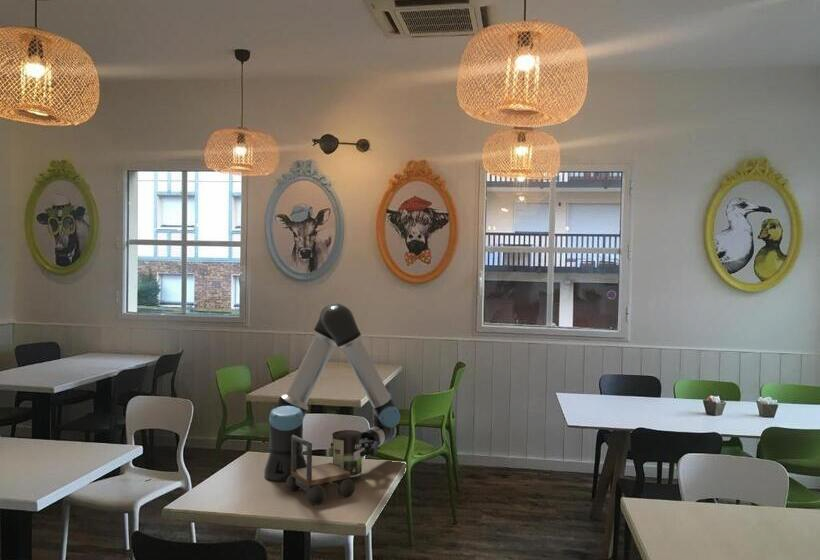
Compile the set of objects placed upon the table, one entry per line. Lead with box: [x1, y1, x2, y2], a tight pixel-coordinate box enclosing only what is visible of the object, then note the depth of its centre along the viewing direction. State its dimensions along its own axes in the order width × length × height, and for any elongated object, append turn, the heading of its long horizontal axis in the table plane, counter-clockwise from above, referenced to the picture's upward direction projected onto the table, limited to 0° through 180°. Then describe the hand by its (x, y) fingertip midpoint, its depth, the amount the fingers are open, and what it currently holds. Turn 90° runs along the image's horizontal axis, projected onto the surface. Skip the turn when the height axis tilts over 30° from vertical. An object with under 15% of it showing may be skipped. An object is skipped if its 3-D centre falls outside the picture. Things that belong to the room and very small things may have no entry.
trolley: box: [285, 435, 356, 505], centre depth 209 cm, size 17×17×19 cm
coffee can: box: [331, 429, 363, 479], centre depth 223 cm, size 10×10×14 cm
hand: (341, 454), depth 219 cm, fingers closed on coffee can, 10 cm apart
